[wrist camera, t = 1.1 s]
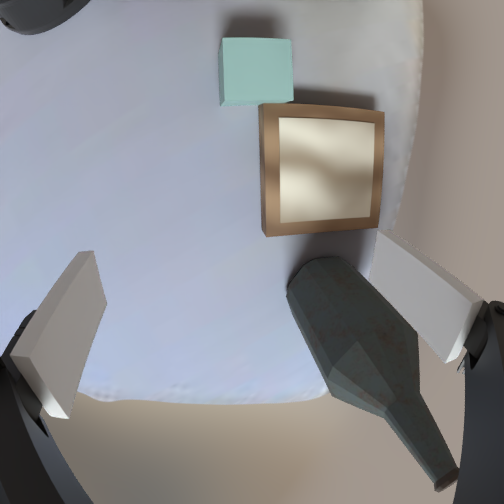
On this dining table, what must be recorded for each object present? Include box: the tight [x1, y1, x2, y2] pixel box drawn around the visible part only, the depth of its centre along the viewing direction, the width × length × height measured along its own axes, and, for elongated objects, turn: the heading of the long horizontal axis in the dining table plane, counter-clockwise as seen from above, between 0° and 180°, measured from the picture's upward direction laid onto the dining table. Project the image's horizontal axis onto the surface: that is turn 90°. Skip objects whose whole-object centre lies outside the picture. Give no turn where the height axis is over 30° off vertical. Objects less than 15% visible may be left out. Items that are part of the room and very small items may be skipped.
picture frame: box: [258, 103, 384, 237], centre depth 31 cm, size 14×14×3 cm
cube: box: [218, 38, 294, 106], centre depth 24 cm, size 6×6×6 cm
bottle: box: [286, 257, 459, 492], centre depth 25 cm, size 10×10×30 cm
